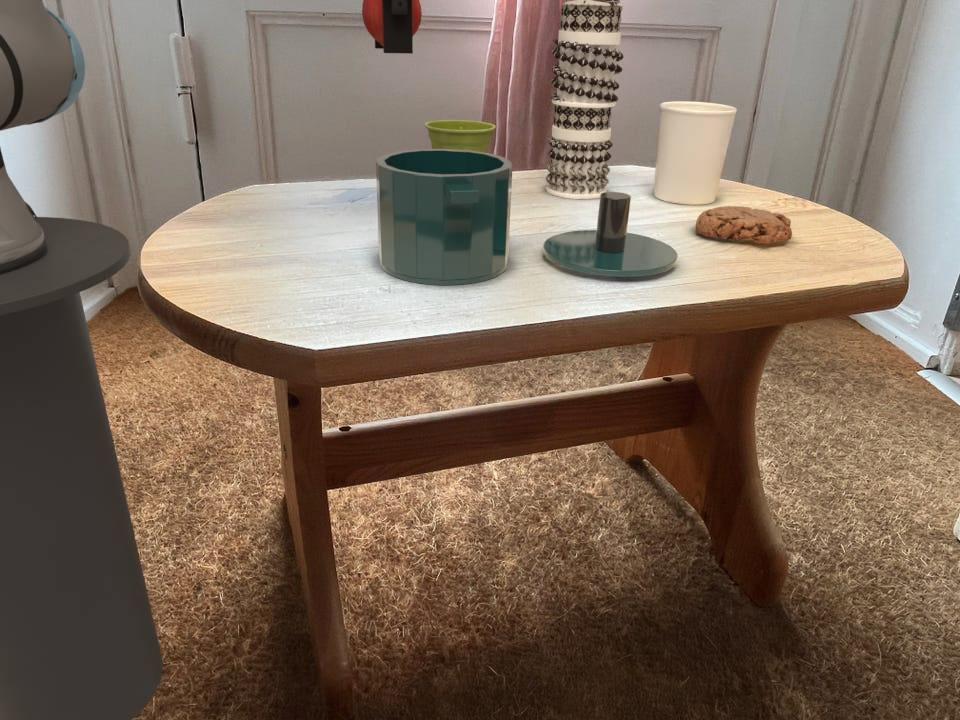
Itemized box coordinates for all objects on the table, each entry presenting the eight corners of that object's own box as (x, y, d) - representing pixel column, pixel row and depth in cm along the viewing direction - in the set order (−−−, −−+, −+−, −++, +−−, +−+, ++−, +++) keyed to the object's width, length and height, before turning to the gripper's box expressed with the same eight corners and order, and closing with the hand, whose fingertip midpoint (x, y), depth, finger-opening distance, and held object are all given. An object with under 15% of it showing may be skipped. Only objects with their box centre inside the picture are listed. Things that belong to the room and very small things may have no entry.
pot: (392, 299, 64) (389, 184, 60) (371, 239, 80) (367, 144, 75) (530, 291, 67) (537, 181, 62) (483, 234, 83) (486, 143, 78)
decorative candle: (529, 188, 103) (540, -11, 92) (576, 181, 108) (592, -9, 97) (574, 202, 97) (592, -10, 86) (622, 194, 102) (645, -8, 91)
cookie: (680, 225, 88) (684, 200, 87) (759, 222, 91) (764, 198, 89) (721, 250, 80) (726, 223, 78) (808, 247, 82) (814, 220, 81)
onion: (353, 53, 72) (349, -40, 68) (378, 50, 77) (375, -37, 73) (409, 56, 70) (407, -39, 67) (430, 53, 75) (430, -36, 72)
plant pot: (439, 179, 107) (439, 117, 103) (501, 185, 104) (503, 122, 101) (414, 193, 99) (414, 126, 95) (481, 200, 96) (483, 132, 93)
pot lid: (568, 286, 68) (574, 215, 65) (526, 243, 80) (530, 181, 77) (700, 278, 71) (712, 210, 68) (641, 238, 83) (649, 178, 80)
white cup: (721, 193, 104) (736, 104, 99) (720, 209, 96) (738, 113, 91) (651, 186, 107) (662, 99, 101) (644, 202, 98) (657, 108, 93)
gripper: (452, -270, 56) (449, 58, 66) (411, -211, 72) (414, 45, 82) (353, -282, 54) (366, 57, 64) (333, -219, 70) (346, 44, 81)
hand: (393, 50), depth 73 cm, fingers closed on onion, 6 cm apart
